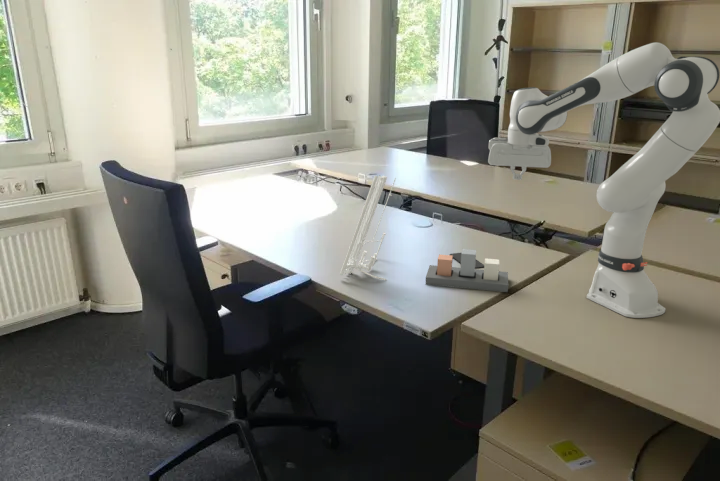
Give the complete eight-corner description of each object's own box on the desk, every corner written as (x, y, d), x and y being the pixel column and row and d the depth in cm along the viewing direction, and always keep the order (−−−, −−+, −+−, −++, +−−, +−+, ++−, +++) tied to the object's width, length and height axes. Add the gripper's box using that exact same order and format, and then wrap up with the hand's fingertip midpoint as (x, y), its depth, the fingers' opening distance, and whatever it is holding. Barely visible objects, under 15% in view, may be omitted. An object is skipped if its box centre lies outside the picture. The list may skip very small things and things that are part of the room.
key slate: (474, 271, 176) (476, 250, 174) (474, 276, 172) (475, 254, 170) (460, 270, 177) (462, 248, 175) (459, 275, 173) (461, 253, 171)
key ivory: (497, 280, 176) (499, 259, 173) (497, 286, 171) (499, 264, 169) (483, 279, 177) (485, 258, 174) (482, 284, 172) (484, 263, 170)
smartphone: (468, 268, 186) (448, 253, 199) (468, 271, 186) (448, 256, 199) (486, 266, 188) (465, 251, 201) (486, 268, 188) (465, 254, 201)
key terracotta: (451, 276, 179) (452, 255, 176) (450, 281, 175) (451, 260, 172) (438, 275, 180) (439, 254, 178) (436, 280, 176) (437, 259, 173)
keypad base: (507, 279, 178) (507, 272, 177) (507, 292, 168) (508, 285, 167) (429, 271, 184) (429, 265, 183) (425, 284, 174) (425, 277, 173)
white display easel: (371, 268, 197) (404, 179, 190) (402, 284, 191) (437, 193, 183) (336, 272, 177) (372, 173, 169) (370, 291, 170) (408, 188, 163)
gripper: (488, 138, 175) (485, 179, 180) (554, 140, 171) (549, 182, 175) (489, 135, 181) (486, 175, 185) (552, 137, 176) (547, 178, 181)
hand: (517, 179), depth 180 cm, fingers closed
